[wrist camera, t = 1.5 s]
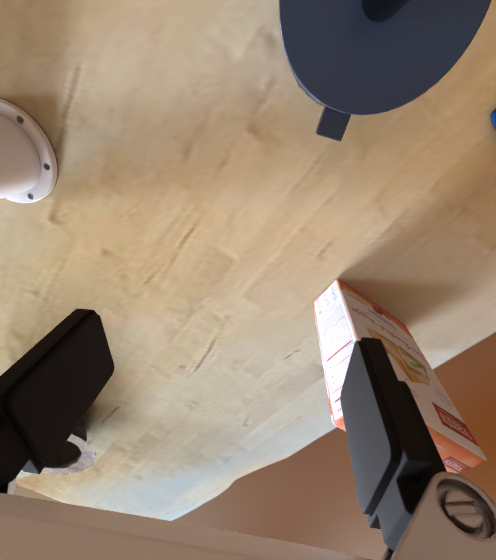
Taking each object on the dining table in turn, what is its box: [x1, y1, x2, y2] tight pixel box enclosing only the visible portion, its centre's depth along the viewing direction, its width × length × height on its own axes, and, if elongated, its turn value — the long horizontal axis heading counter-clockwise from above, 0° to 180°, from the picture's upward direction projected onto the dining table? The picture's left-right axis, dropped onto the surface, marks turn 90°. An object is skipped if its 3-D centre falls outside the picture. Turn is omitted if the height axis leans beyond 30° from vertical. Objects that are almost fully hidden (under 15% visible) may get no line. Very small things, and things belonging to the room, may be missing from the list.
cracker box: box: [313, 279, 486, 474], centre depth 35 cm, size 14×6×21 cm, turn 57°
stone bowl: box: [41, 424, 96, 474], centre depth 65 cm, size 25×25×9 cm
